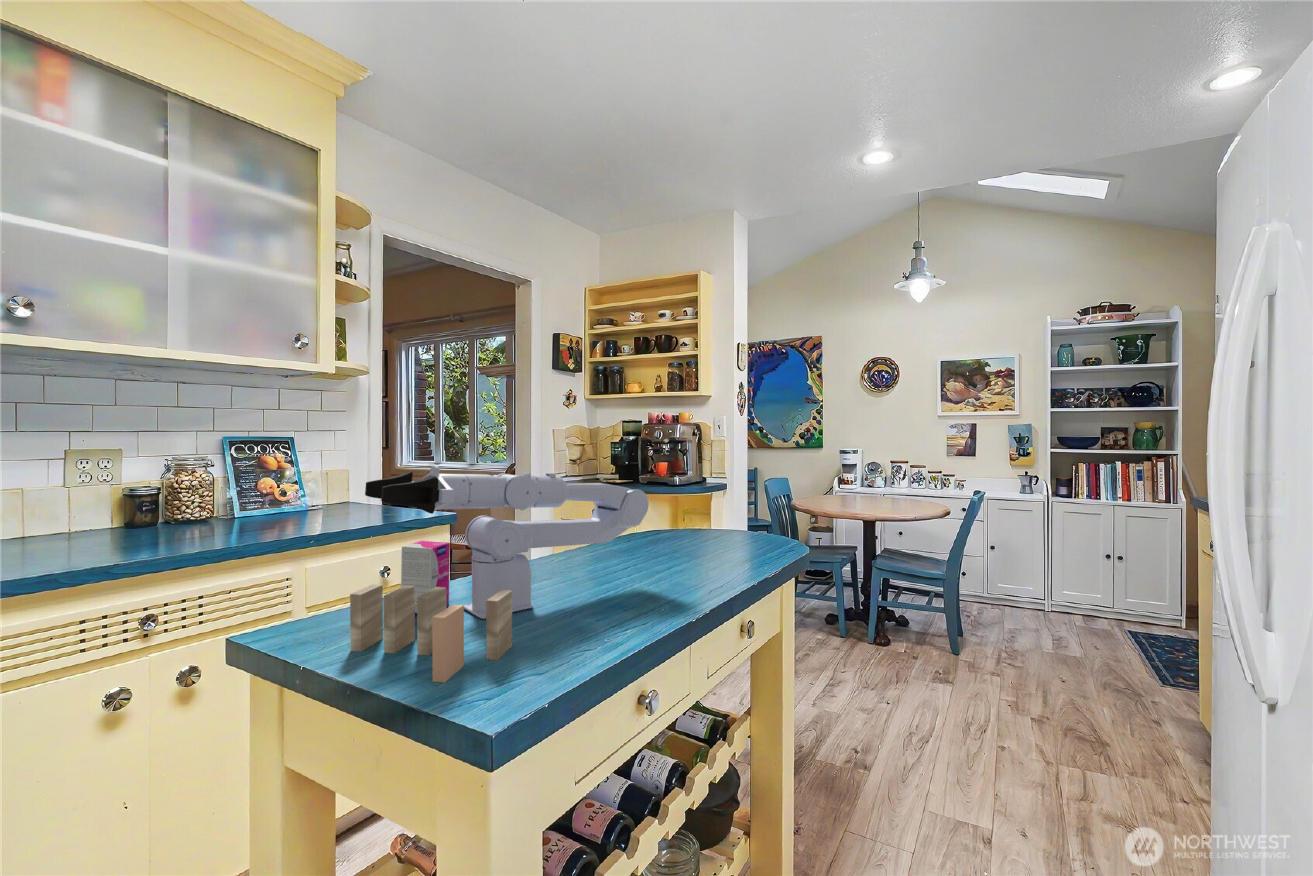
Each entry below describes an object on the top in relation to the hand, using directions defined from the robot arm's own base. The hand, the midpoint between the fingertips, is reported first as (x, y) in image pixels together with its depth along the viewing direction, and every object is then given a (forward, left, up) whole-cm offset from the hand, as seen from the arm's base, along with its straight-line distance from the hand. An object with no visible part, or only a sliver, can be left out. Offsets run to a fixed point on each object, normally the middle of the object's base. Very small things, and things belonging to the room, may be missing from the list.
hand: (373, 491), depth 86 cm
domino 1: (+2, +3, -22) cm, 22 cm away
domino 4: (-3, +20, -22) cm, 30 cm away
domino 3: (-5, +10, -22) cm, 24 cm away
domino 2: (-1, +6, -22) cm, 23 cm away
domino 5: (-11, +18, -22) cm, 30 cm away
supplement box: (-10, -7, -22) cm, 25 cm away
